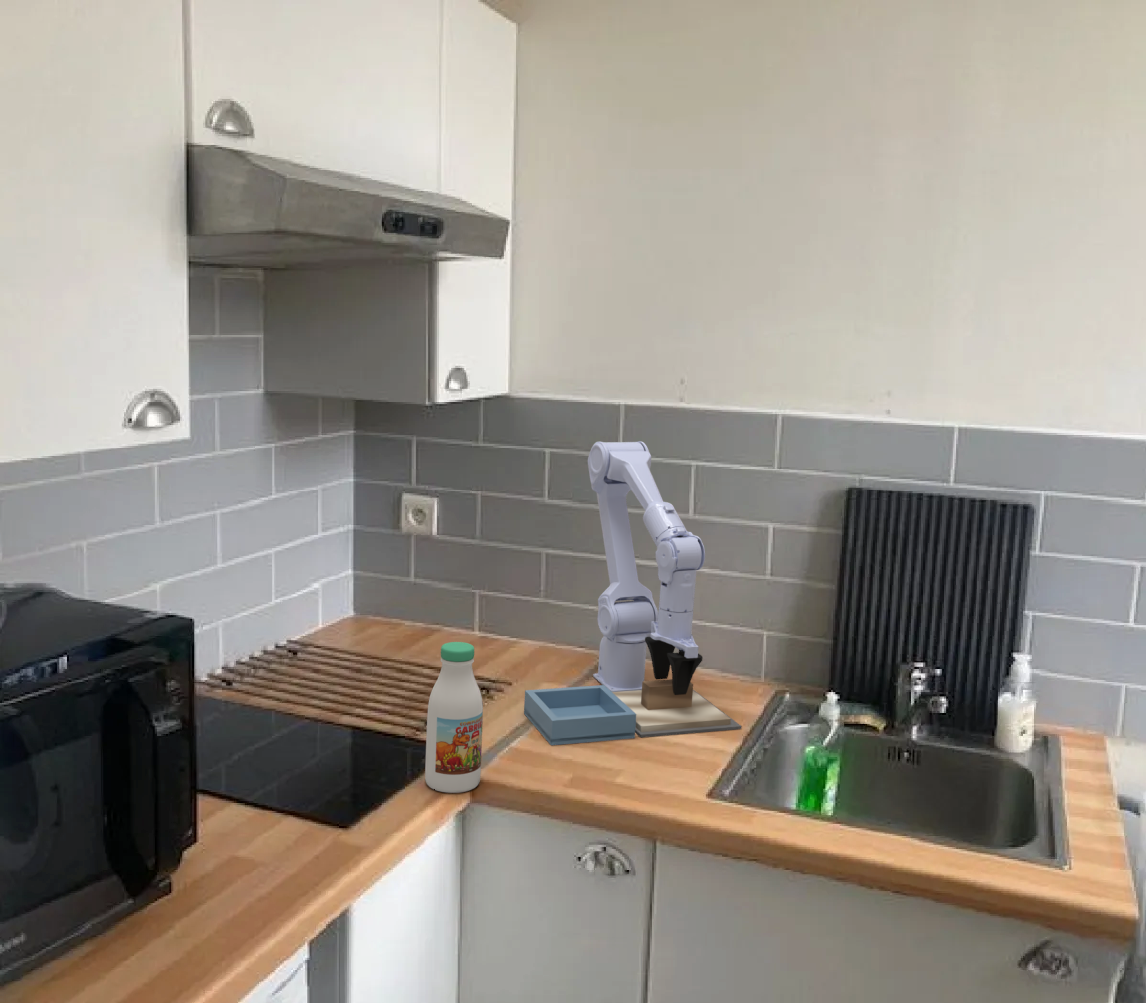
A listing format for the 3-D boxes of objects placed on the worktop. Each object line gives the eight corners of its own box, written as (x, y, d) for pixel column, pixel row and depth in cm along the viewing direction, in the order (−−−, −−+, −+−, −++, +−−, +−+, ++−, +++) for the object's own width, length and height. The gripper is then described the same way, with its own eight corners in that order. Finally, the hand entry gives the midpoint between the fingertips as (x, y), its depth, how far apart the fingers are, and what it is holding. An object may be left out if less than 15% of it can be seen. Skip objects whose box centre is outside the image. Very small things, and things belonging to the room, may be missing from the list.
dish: (523, 713, 187) (525, 690, 186) (602, 707, 192) (604, 685, 191) (551, 745, 174) (552, 720, 174) (634, 738, 179) (636, 714, 178)
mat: (599, 699, 196) (599, 696, 196) (693, 692, 202) (693, 689, 202) (640, 737, 179) (640, 734, 179) (741, 729, 186) (741, 726, 185)
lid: (604, 698, 195) (606, 670, 194) (688, 692, 201) (690, 665, 200) (640, 732, 180) (642, 702, 179) (730, 724, 186) (732, 695, 185)
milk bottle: (415, 787, 156) (419, 648, 153) (440, 767, 164) (445, 634, 160) (465, 798, 154) (471, 657, 151) (489, 778, 161) (495, 642, 158)
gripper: (636, 597, 193) (631, 673, 195) (672, 621, 180) (666, 702, 182) (674, 595, 195) (668, 671, 198) (712, 619, 182) (705, 699, 184)
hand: (670, 686), depth 190 cm, fingers open, 7 cm apart
